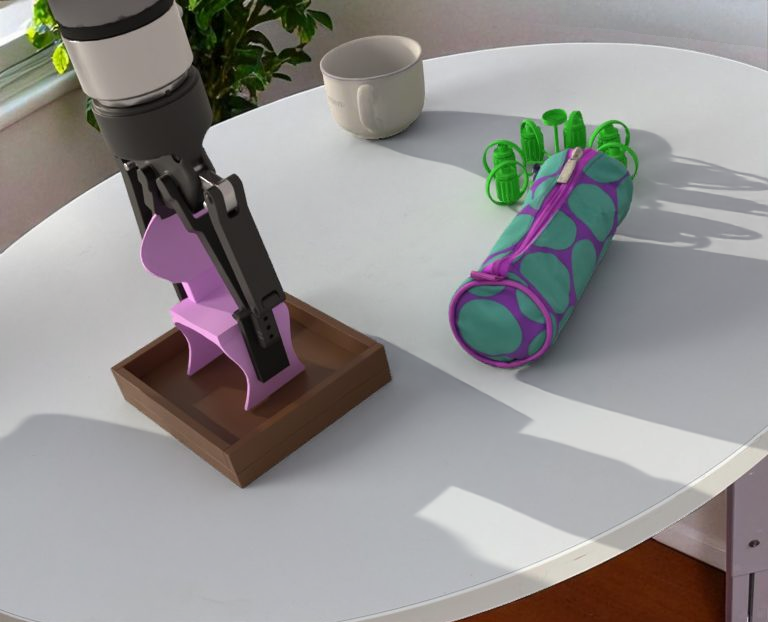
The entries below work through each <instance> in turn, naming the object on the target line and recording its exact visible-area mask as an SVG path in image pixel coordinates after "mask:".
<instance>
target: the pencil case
mask: <svg viewBox="0 0 768 622" xmlns="http://www.w3.org/2000/svg"><path fill="white" fill-rule="evenodd" d="M532 165H533V166H532V170H531V172H533V175H531V176H532V180H533V184H532V186H531V188H530V187H529V188H530V189H529V188H528V192H527V194H526V197H525V199H524V202H523V205H522V207H521V210H520V211H519V212H518V213H517V214H516V215H515V216H514V217H513V218H512V220H511V221H510V222H509V224H508V225H507V226H506V227H505V229H503V232H502V233H501V235H500V236H499V238H498V239H497V241H496V242H495V244H494V245H493V247H492V248H491V249H490V251H489V253H488V255H487V256H486V258H485V259H484V260H483V262H482V263H481V264H480V266H479V267H478V269H477V270H470V273H469V276H468V277H467V278H466V279H465V280H464V281H463V282H461V284H459V286H458V287H457V288H456V289H455V291H454V292H453V294H452V296H451V298H450V301H449V304H448V323H449V326H450V329H451V332H452V335H453V336H454V338H455V340H456V341H457V344H458V345H459V346H460V347H461V348H462V349H463V350H464V351H465V352H466V353H467V354H468V355H469V356H470V357H472V358H473V359H475V360H477V361H478V362H480V363H482V364H484V365H487V366H490V367H493V368H496V369H501V370H514V369H518V368H521V367H524V366H527V365H529V364H532V363H533V362H536V361H537V360H539V359H540V358H542V357H543V356H544V355H545V354H546V353H547V352H548V351H549V350H550V349H551V348H552V346H553V345H554V344H555V343H556V341H557V339H558V337H559V335H560V333H561V331H562V330H563V328H564V326H565V325H566V323H567V322H568V320H569V318H570V316H571V314H572V313H573V311H574V309H575V307H576V306H577V304H578V302H579V300H580V299H581V297H582V295H583V293H584V292H585V289H586V288H587V286H588V284H589V283H590V280H591V279H592V277H593V275H594V274H595V271H596V270H597V269H598V267H599V265H600V263H602V260H603V258H604V256H605V254H606V252H607V251H608V249H609V247H610V245H611V243H612V241H613V238H614V237H615V234H616V231H617V230H618V227H619V226H620V225H621V224H622V223H623V221H624V220H625V219H626V216H627V215H628V213H629V210H630V209H631V206H632V205H631V204H632V200H633V194H634V184H633V180H632V179H631V177H632V176H631V174H630V172H629V170H628V167H627V168H626V167H625V166H624V165H623V164H622V163H621V162H620V161H618V160H617V159H615V158H613V157H610V156H608V155H606V154H605V153H603V151H597V150H595V149H593V147H592V148H591V147H590V148H588V147H586V148H585V149H582V148H581V147H576V148H575V149H570V148H568V149H566V150H565V149H564V150H561V151H560V152H559V153H556V152H555V153H554V154H552V155H551V157H548V158H547V159H546V160H545V162H544V164H539V163H538V162H536V163H535V164H532Z"/></svg>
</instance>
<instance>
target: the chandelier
mask: <svg viewBox="0 0 768 622" xmlns="http://www.w3.org/2000/svg"><path fill="white" fill-rule="evenodd" d="M541 121H542V124H543V125H544V126H548V127H553V136H554V137H553V138H554V139H553V140H554V151H555V154H556V153H559V152H561V151H560V142H559V129H558V128H559V127H558V126H560V125H562V124H563V126H564V127H563V130H562V136H563V147H564V150H566V149H568V148H570V149H575V148H576V147H581V148H582V149H586V148H590V147H591V148H592V149H593V146H594V142H595V140H596V142H597V143H596V144H597V145H596V146H597V149H596V151H603V153H605V154H606V155H608V156H610V157H613V158H615V159H617V160H618V161H620V162H621V163H622V164H623V165H624V166H625V167H626V168H627V169H628V157H627V156H626V153H628V154H629V155H630V156H631V158H632V159H633V162H634V166H635V167H634V172H633V174H632V176H631V179H632V181H633V180H634V179H635V177H636V175H637V173H638V171H639V166H640V165H639V159H638V158H639V157H638V156H637V154H636V152H635V151H634V150H633V149H632V148H631V147H630V143H631V133H630V129H629V128H628V126H627V125H626V124H625V123H624V122H623V121H620V120H618V119H610V120H607V121H605V122H603V123H601V124H600V125H598V126H597V127H596V128H595V129H594V131H593V132H592V134H591V135H590V138H589V140H588V142H587V127H586V125H585V121H584V118H583V113H582V112H581V111H580V110H572V111H571V112H570V114H569V116H568V113H567V111H566V110H565V109H563V108H553V109H548V110H547V111H545V112H543V113H542V115H541ZM614 125H620V126H621V127H623V129H624V132H625V141H624V143H622V142H621V135H620V131H619V128H618V127H616V126H614ZM519 135H520V138H519V139H520V145H518V144H516V143H515V142H514V141H511V140H507V139H497V140H494V141H492V142H491V143H489V144H488V145H487V146H486V147H485V150H484V151H483V154H482V165H483V167H484V170H485V171H486V174H488V176H487V177H486V180H485V181H486V182H485V193H486V196H487V198H488V199H489V200H490V201H491V202H492V203H493V204H494V205H497V206H500V207H507V206H510V205H513V204H514V203H516V202H517V201H519V200H520V199H521V198H522V197H523V196H524V194H525V193H526V191H527V190H529V189H530V188H531V186H532V184H533V179H532V180H530V179H529V177H531V176H532V175H533V172H532V171H531V172H528V170H527V164H529V165H531V164H532V165H534V164H535V163H536V162H538V163H539V165H543V164H544V162H545V161H546V160H545V161H544V159H545V155H546V156H547V157H548V158H549V157H551V156H552V155H551V154H550V153H549V152H548V151H547V150H546V149H545V139H544V134H543V132H542V129H541V127H540V126H539V125H537V123H535V121H534V120H533V119H531V118H527V119H524V120H522V121H521V123H520V125H519ZM587 144H588V145H587ZM494 146H497V147H495V148H493V154H492V163H493V168H492V169H491V168H490V166H489V164H488V161H487V153H488V152H489V149H491V148H492V147H494ZM514 150H515V151H516V152H517V153H518V154H519V157H520V158H521V161H522V163H521V162H520V161H518V160H516V159H517V158H516V153H515V151H514ZM517 166H520V167H521V168H522V169H521V172H520V173H519V174H518V167H517ZM523 174H524V181H523V185H522V187H521V188H520V178H521V177H522V176H523ZM492 180H495V181H494V182H495V189H496V197H497V199H498V200H499V201H497V200H495V199H494V198H493V197H492V195H491V190H490V186H491V182H492ZM529 181H530V182H529ZM528 187H529V188H528Z"/></svg>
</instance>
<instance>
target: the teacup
mask: <svg viewBox="0 0 768 622" xmlns="http://www.w3.org/2000/svg"><path fill="white" fill-rule="evenodd" d="M423 55H424V51H423V47H422V45H421V44H420V43H419V42H418V41H417V40H415V39H413V38H410V37H407V36H402V35H388V34H387V35H383V34H382V35H381V34H380V35H377V34H376V35H372V36H364V37H359V38H356V39H353V40H350V41H347V42H344V43H342V44H340V45H337V46H336V47H334V48H332V49H330V50H329V51H328V52H327V53H325V54H324V55H323V57H322V58H321V60H320V62H319V68H320V69H319V70H320V71H321V74H322V78H323V83H324V89H325V94H326V98H327V99H326V100H327V103H328V107H329V109H330V113H331V115H332V117H333V120H334V121H335V123H336V124H337V125H338V126H339V127H341V128H342V129H343V130H345V131H346V132H349V133H351V134H352V135H353V136H355V137H357V138H360V139H366V140H380V139H379V138H382V139H386V137H387V138H390V137H389V136H391V137H393V136H392V135H394V136H396V135H398V134H397V133H399V134H401V133H403V132H404V131H406V128H407V127H408V126H409V125H410V124H411V125H412V123H413V122H414V121H415V120H416V119H417V118H418V117H419V116H420V115H421V112H422V111H423V108H424V106H425V101H426V85H425V83H426V82H425V72H424V61H423ZM411 125H410V126H411ZM410 126H409V127H410ZM409 127H408V128H409ZM408 128H407V129H408ZM403 130H404V131H403ZM395 134H396V135H395Z"/></svg>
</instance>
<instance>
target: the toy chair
mask: <svg viewBox="0 0 768 622" xmlns="http://www.w3.org/2000/svg"><path fill="white" fill-rule="evenodd" d="M206 212H208V210H206V209H203V210H201V211H200V212H198V213H196V214H194V215H193V216H194V217H195V218H198V217H199V216H201V215H203V214H204V213H206ZM141 240H142V239H141ZM139 250H140V253H139V254H140V260H141V264H142V266H143V268H144V269H145V271H147V273H149V274H150V275H152V276H153V277H156V278H159V279H162V280H165V281H168V282H169V283H171V284H172V283H181V282H182V284H183V287H184V289H185V291H186V293H187V295H188V298H186V299H184V300H183V301H181V302H180V301H179V302H177V304H174V305H173V306H171V307H170V308H169V309H168V310H169V313H170V315H171V322H172V323H173V325H174V327H175V326H176V327H177V328H178V329H179V330H180V331H181V332H182V333H183V334H184V336H185V337H186V339H187V341H188V344H189V364H188V371H187V374H188V375H192V374H194V373H195V372H197V371H198V370H199V369H201V368H202V367H204V366H205V365H207V364H208V363H209V362H211V361H212V360H214V359H215V358H216V357H218V356H219V355H221V354H222V353H225V354H226V355H227V356H228V357H229V358H230V359H231V360H233V361H234V362H235V363H236V364H237V365H238V366H239V367H240V368H241V369H242V370H243V371H244V373H245V375H246V378H247V384H248V389H247V399H246V404H245V410H246V411H249V410H250V409H252V408H253V407H254V406H256V405H257V404H259V403H260V402H261V401H263V400H264V399H265V398H267V397H268V396H269V395H271V394H272V393H273V392H275V391H276V390H277V389H279V388H280V387H281V386H283V385H284V384H286V383H287V382H288V381H290V380H291V379H292V378H294V377H295V376H296V375H298V374H299V373H300V372H302V371H303V370H304V369H305V367H304V365H303V364H302V363H301V362H300V360H299V359H298V357H297V356H296V354H295V352H294V349H293V347H292V342H291V334H290V318H289V311H288V308H287V306H286V304H285V303H284V302H282V303H281V304H279V305H278V306H276V307H274V308H273V309H272V311H273V314H274V317H275V320H276V323H277V326H278V329H279V332H280V335H281V338H282V341H283V345H284V348H285V351H286V354H287V357H288V360H289V363H290V366H288V367H287V368H285V369H284V370H282V371H281V372H280V373H278V374H277V375H275V376H274V377H272V378H271V379H269V380H268V381H267V382H265V383H262V382H260V381H259V380H258V379H257V376H256V373H255V370H254V367H253V365H252V362H251V359H250V356H249V354H248V351H247V348H246V345H245V342H244V340H243V337H242V334H241V331H240V328H239V326H238V323H237V321H236V320H235V319H234V318H233V317H232V314H234V311H236V310H238V309H239V308H238V306H237V305H236V303H235V301H234V299H233V297H232V296H231V294H230V292H229V290H228V289H227V287H226V285H225V283H224V282H223V280H222V278H221V276H220V275H219V273H218V271H217V269H216V268H215V266H214V264H213V262H212V261H211V259H210V257H209V255H208V254H207V252H206V250H205V248H204V247H203V245H202V243H201V241H200V239H199V238H198V236H197V235H196V234H195V233H190V232H188V231H187V230H186V228H185V227H184V225H183V223H182V221H181V220H180V218H179V216H178V214H177V213H176V214H174V215H172V216H170V217H168V218H166V219H163V220H162V219H161V217H160V215H156V214H154V216H153V217H152V219H151V221H150V223H149V225H148V227H147V230H146V232H145V235H144V238H143V240H142V241H141V245H140V249H139Z"/></svg>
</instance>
